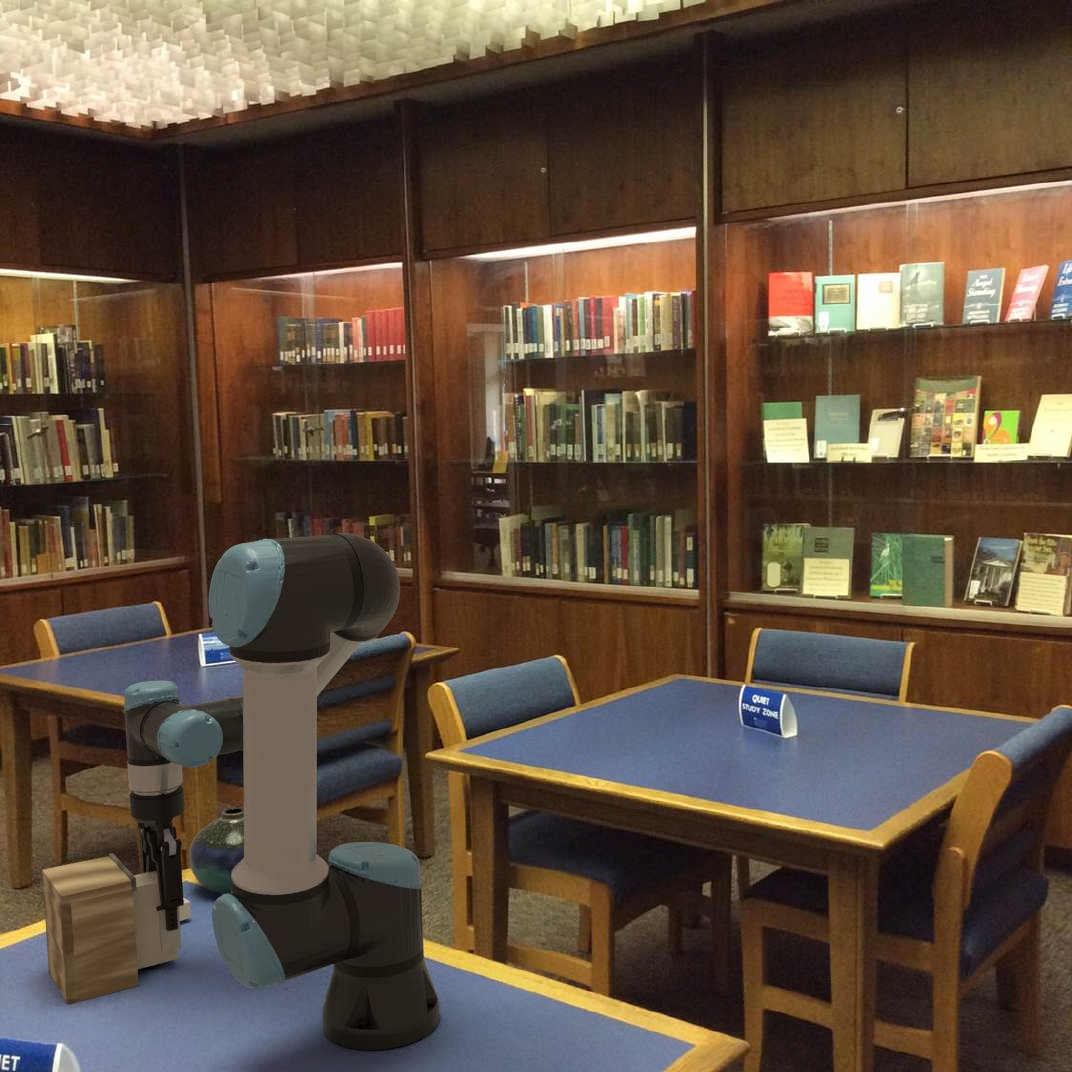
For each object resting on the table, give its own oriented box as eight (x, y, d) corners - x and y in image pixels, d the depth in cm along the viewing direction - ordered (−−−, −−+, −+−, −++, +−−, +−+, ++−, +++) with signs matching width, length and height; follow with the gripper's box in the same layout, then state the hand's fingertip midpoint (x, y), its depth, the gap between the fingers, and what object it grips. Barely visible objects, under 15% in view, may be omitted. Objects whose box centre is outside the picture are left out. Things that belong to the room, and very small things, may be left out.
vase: (257, 864, 221) (253, 791, 220) (300, 887, 209) (296, 810, 208) (175, 886, 211) (171, 810, 210) (215, 912, 199) (211, 832, 198)
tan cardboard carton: (177, 959, 180) (173, 878, 179) (107, 977, 174) (102, 894, 173) (167, 947, 184) (163, 868, 183) (98, 964, 179) (93, 884, 178)
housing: (142, 985, 174) (135, 878, 172) (68, 1004, 168) (61, 894, 167) (118, 954, 184) (112, 853, 183) (48, 971, 179) (41, 867, 177)
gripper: (201, 798, 174) (210, 957, 176) (164, 770, 189) (172, 917, 191) (148, 808, 170) (157, 971, 172) (113, 778, 185) (122, 929, 187)
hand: (165, 942), depth 181 cm, fingers closed on tan cardboard carton, 5 cm apart
